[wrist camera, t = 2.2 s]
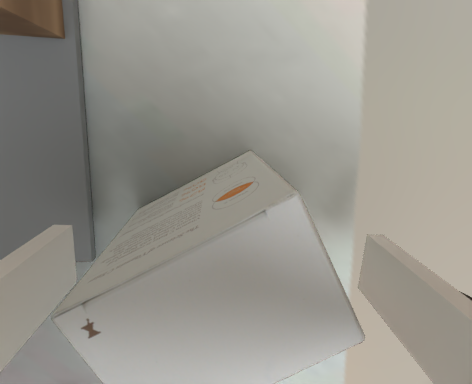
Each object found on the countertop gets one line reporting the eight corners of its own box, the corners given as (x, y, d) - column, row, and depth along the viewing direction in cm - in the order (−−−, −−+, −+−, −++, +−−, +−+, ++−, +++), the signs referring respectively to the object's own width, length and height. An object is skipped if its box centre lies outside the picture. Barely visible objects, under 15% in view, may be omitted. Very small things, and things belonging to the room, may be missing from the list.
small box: (181, 277, 20) (145, 451, 10) (136, 206, 18) (38, 322, 8) (290, 224, 19) (373, 346, 9) (252, 146, 18) (301, 190, 8)
